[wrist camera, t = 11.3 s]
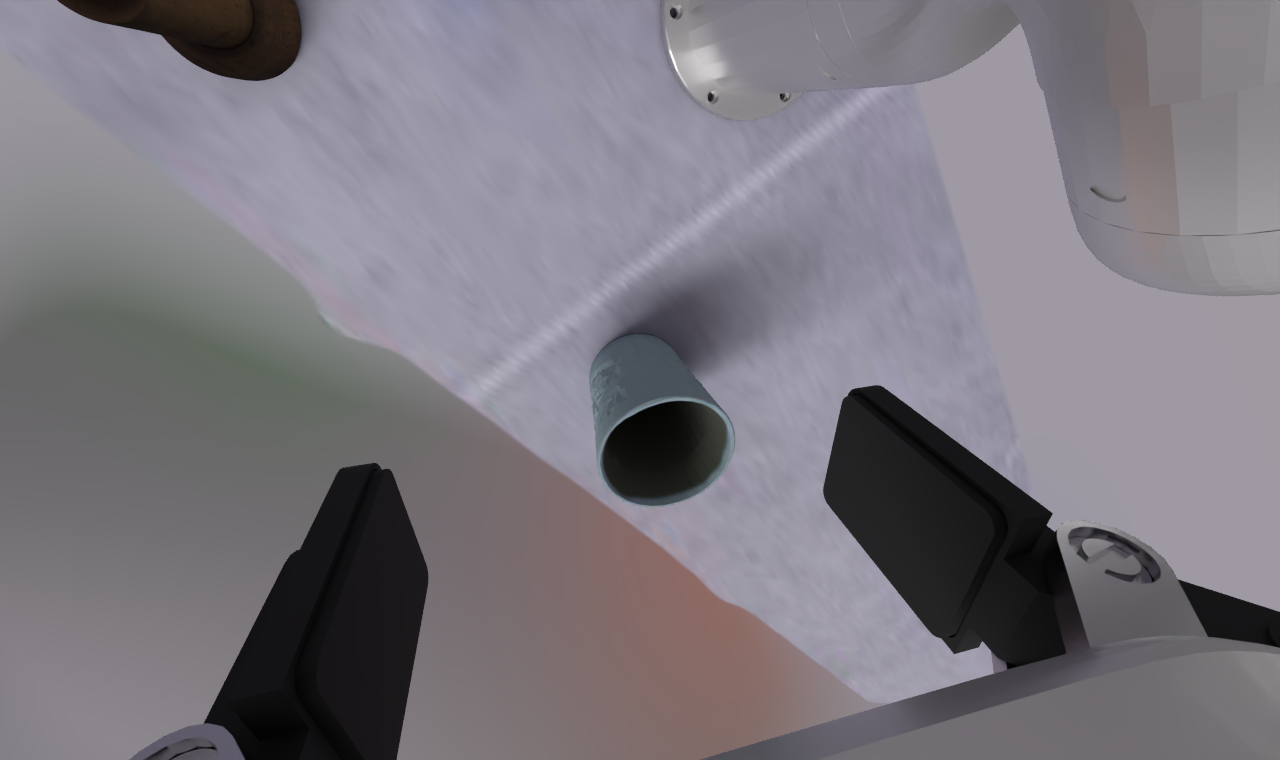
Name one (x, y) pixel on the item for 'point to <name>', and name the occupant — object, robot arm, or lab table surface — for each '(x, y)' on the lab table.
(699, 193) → the lab table surface
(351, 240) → the lab table surface
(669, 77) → the lab table surface
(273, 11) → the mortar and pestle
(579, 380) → the lab table surface
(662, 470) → the blue-grey plant pot
